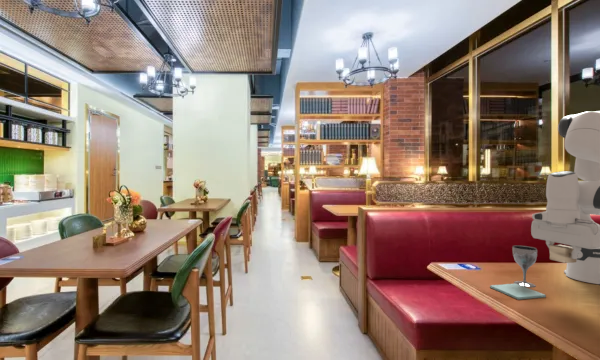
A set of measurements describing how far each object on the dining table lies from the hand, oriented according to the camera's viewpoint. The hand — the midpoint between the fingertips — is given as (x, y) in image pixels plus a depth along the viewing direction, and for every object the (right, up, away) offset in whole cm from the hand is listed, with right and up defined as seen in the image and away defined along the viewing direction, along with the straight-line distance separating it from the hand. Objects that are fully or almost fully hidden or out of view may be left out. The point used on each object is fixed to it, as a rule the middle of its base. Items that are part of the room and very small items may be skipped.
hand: (562, 256), depth 102 cm
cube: (0, -2, 0) cm, 2 cm away
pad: (-11, -16, +8) cm, 20 cm away
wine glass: (-1, -16, +16) cm, 23 cm away
